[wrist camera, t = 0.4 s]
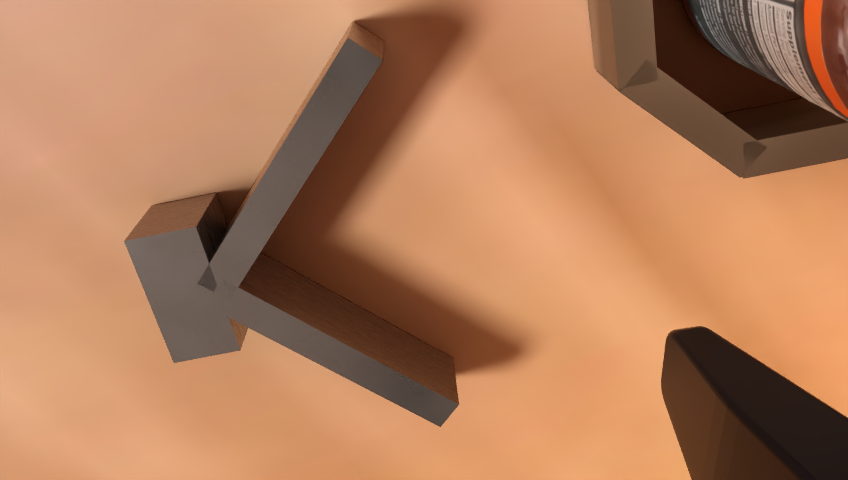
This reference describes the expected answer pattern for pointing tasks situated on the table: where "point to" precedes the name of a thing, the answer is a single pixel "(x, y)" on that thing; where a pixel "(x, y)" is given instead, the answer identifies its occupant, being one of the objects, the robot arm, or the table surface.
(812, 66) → the supplement bottle
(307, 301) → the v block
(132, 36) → the table surface
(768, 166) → the walnut collar
